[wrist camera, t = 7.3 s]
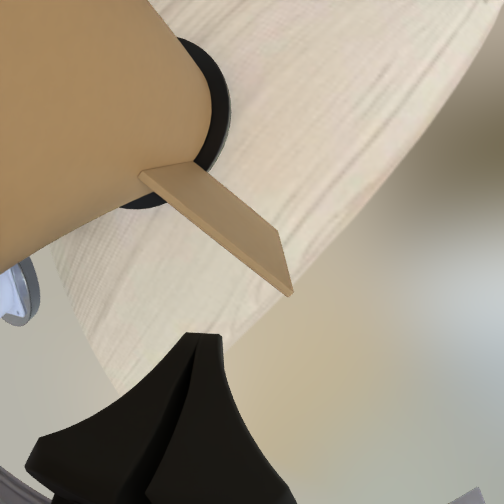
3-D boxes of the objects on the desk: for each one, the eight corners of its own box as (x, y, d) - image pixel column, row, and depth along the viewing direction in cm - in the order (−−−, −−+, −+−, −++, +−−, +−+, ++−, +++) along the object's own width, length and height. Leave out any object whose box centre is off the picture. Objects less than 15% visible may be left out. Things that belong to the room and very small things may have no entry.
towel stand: (76, 210, 17) (68, 213, 16) (77, 60, 13) (70, 58, 12) (230, 205, 17) (229, 208, 16) (233, 30, 13) (232, 24, 12)
